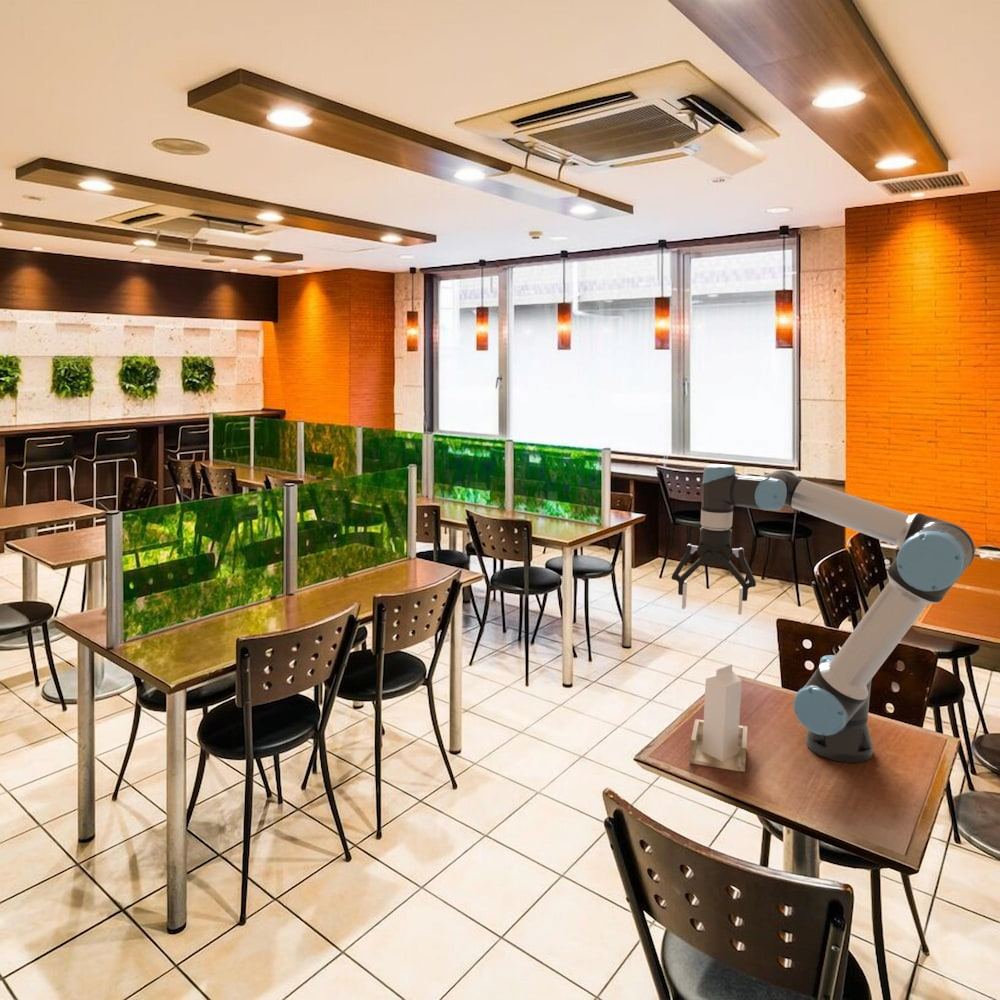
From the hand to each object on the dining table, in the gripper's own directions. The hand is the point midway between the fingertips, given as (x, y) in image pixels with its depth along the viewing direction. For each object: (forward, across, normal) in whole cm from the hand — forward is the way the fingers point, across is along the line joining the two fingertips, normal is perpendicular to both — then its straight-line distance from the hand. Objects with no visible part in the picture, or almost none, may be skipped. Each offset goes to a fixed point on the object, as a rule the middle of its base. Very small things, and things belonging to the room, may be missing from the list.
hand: (711, 610), depth 195 cm
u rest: (+33, -4, +12) cm, 35 cm away
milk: (+32, -4, +12) cm, 34 cm away
